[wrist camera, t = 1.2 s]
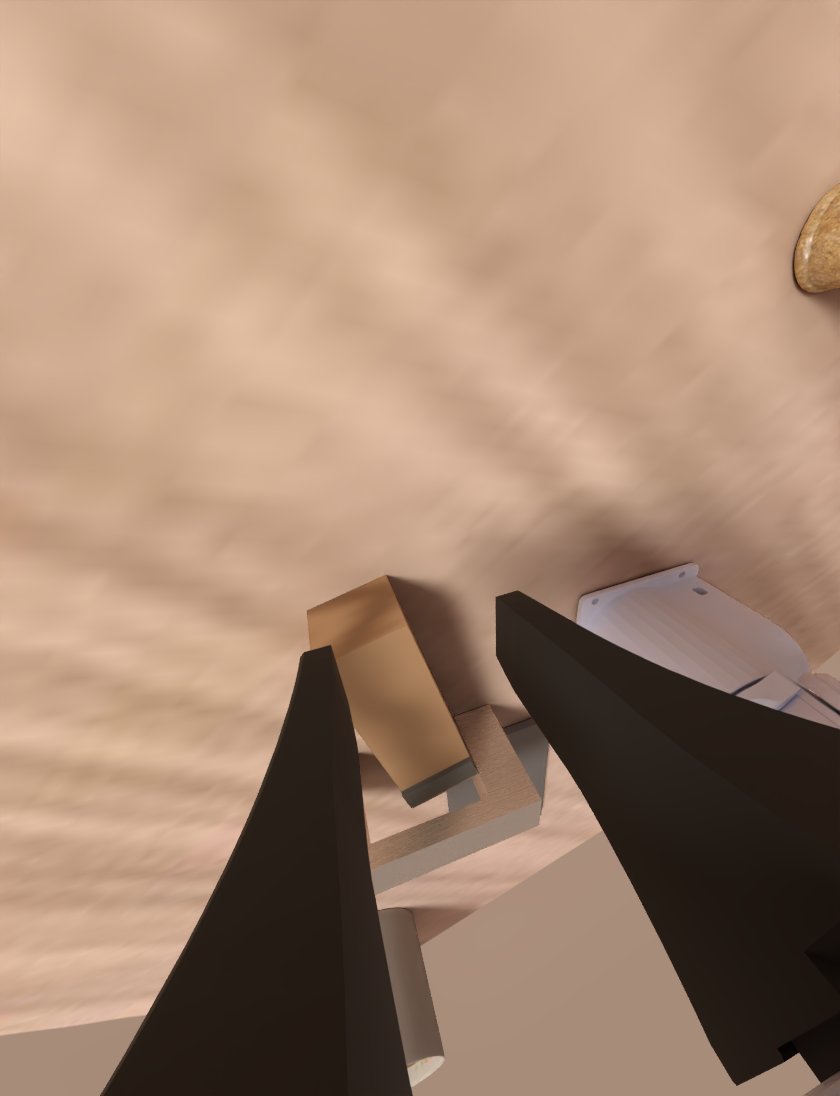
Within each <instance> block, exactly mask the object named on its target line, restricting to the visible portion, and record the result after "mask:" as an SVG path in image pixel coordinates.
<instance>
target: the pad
mask: <svg viewBox="0 0 840 1096" xmlns="http://www.w3.org/2000/svg"><path fill="white" fill-rule="evenodd" d="M503 731H504V733H505V734H506V736H507V738H508V740H509V742H510V743H511V745H512V747H513V749H514V751H515V753H516V754H517V756H518V758H519V760H520V762H521V763H522V765H523V767H524V769H525V771H526V772H527V774H528V776H529V778H530V780H531V782H532V783H533V785H534V787H535V789H536V791H537V792H538V794H539V796H540V798H541V800H542V801H543V791H544V781H545V772H546V762H547V752H548V740H547V739H546V737H545V736H544V734H543V733H542V732H541V730H540V729H539V727H538V726H537V724H536V723H535V721H534V720H533V718H531V719H528V720H525V721H523V722H520V723H517V724H515V725H512V726H509V727H506V728H504V729H503ZM447 798H448V806H449V813H450V812H452V811H455V810H457V809H460V808H462V807H465V806H467V805H470V804H472V803H475V802H477V801H480V800H481V799H480V797H479V794H478V792H477V789H476V787H475V785H474V782H473V780H472V778H470V779H468V780H466V781H464V782H463V783H461V784H459V785H457V786H455V787H453V788H451V789H449V790H447ZM542 801H541V810H542ZM540 815H541V811H540Z"/></svg>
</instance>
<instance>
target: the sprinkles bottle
mask: <svg viewBox="0 0 840 1096" xmlns="http://www.w3.org/2000/svg"><path fill="white" fill-rule="evenodd" d="M794 270H795V276H796V279H797V282H798V284H799V285H800V287H801V288H802V289H804V290H806V291H808V292H814V293H818V292H824V291H827V290H830V289H835V288H840V183H839V184H837V185H836V186H835V187H834V188H832V189H831V190H830V191H829V192H828V193H827V194H826V195H825V196H824V197H823V198H822V199H821V201H820V202H819V203H818V204H817V205H816V206H815V208H814V210H813V211H812V213H811V215H810V217H809V219H808V221H807V222H806V224H805V226H804V228H803V230H802V232H801V236H800V238H799V241H798V243H797V247H796V251H795V260H794Z"/></svg>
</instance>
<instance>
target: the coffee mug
mask: <svg viewBox="0 0 840 1096" xmlns="http://www.w3.org/2000/svg"><path fill="white" fill-rule="evenodd" d="M378 915H379V921H380V926H381V932H382V937H383V943H384V948H385V953H386V959H387V964H388V970H389V975H390V980H391V986H392V991H393V996H394V1002H395V1007H396V1012H397V1017H398V1023H399V1028H400V1033H401V1038H402V1043H403V1049H404V1054H405V1059H406V1064H407V1070H408V1075H409V1080H410V1085H411V1087H413V1086H414V1085H416V1084H417V1083H419V1082H420V1081H422V1080H423V1079H425V1078H426V1077H428V1076H429V1075H430V1074H432V1073H433V1072H434V1071H435V1070H437V1069H438V1068H439V1067H440V1065H441V1064H442V1063H443V1062H444V1059H445V1056H444V1051H443V1047H442V1042H441V1037H440V1033H439V1028H438V1024H437V1020H436V1015H435V1011H434V1007H433V1002H432V997H431V993H430V989H429V984H428V980H427V975H426V971H425V966H424V962H423V957H422V953H421V948H420V944H419V939H418V935H417V930H416V926H415V921H414V917H413V914H412V912H410V911H409V910H407V909H403V908H390V909H384V910H379V911H378Z"/></svg>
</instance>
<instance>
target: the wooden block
mask: <svg viewBox="0 0 840 1096" xmlns="http://www.w3.org/2000/svg"><path fill="white" fill-rule="evenodd" d="M307 619H308V630H309V640H310V650H314V649H317V648H321V647H324V646H328V645H331V647H332V650H333V653H334V656H335V660H336V663H337V666H338V670H339V673H340V676H341V680H342V683H343V686H344V689H345V693H346V696H347V699H348V703H349V707H350V712H351V717H352V722H353V726H354V728H355V729H356V730H357V732H358V733H359V734H360V736H361V737H362V739H363V740H364V741H365V743H366V744H367V745H368V747H369V748H370V749H371V751H372V752H373V753H374V755H375V756H376V758H377V759H378V760H379V762H380V763H381V764H382V766H383V767H384V768H385V770H386V771H387V773H388V774H389V775H390V777H391V778H392V779H393V781H394V782H395V783H396V785H397V786H398V788H399V789H400V790H401V792H402V796H403V798H404V799H405V800H406V802H407V803H408V804H409V806H410V807H411V808H412V807H413V808H414V807H416V806H418V805H420V804H422V803H424V802H426V801H428V800H430V799H432V798H434V797H436V796H438V795H439V794H441V793H443V792H445V791H447V790H449V789H451V788H453V787H455V786H457V785H459V784H461V783H463V782H464V781H466V780H468V779H470V778H472V777H474V776H476V775H478V773H477V771H476V769H475V767H474V764H473V762H472V760H471V758H470V755H469V753H468V751H467V748H466V746H465V744H464V742H463V739H462V737H461V735H460V733H459V730H458V728H457V726H456V724H455V721H454V719H453V717H452V715H451V713H450V711H449V708H448V706H447V704H446V702H445V700H444V698H443V696H442V693H441V691H440V689H439V687H438V685H437V683H436V681H435V679H434V676H433V674H432V672H431V670H430V668H429V666H428V664H427V661H426V659H425V657H424V655H423V653H422V651H421V649H420V646H419V644H418V642H417V640H416V638H415V636H414V634H413V632H412V629H411V627H410V625H409V623H408V621H407V619H406V617H405V614H404V612H403V610H402V608H401V606H400V604H399V602H398V600H397V597H396V595H395V593H394V591H393V589H392V587H391V585H390V582H389V580H388V578H387V576H386V575H384V576H382V577H380V578H377V579H375V580H373V581H371V582H369V583H367V584H364V585H362V586H360V587H358V588H356V589H353V590H351V591H349V592H347V593H345V594H342V595H340V596H338V597H336V598H334V599H332V600H329V601H327V602H325V603H323V604H321V605H318V606H316V607H314V608H312V609H310V610H308V611H307Z"/></svg>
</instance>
